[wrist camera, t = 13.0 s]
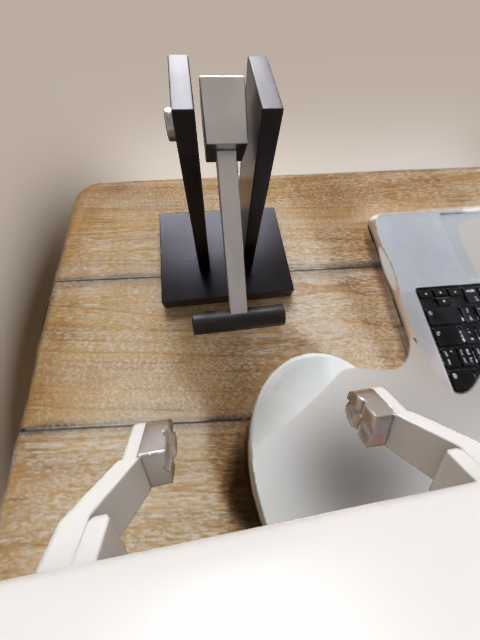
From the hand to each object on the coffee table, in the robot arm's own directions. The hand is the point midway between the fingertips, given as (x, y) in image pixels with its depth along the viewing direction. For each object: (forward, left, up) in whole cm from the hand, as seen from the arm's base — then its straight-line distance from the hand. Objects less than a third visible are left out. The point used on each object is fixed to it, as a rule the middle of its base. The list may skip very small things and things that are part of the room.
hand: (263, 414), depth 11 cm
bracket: (0, +15, -9) cm, 17 cm away
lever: (0, +11, -1) cm, 11 cm away
